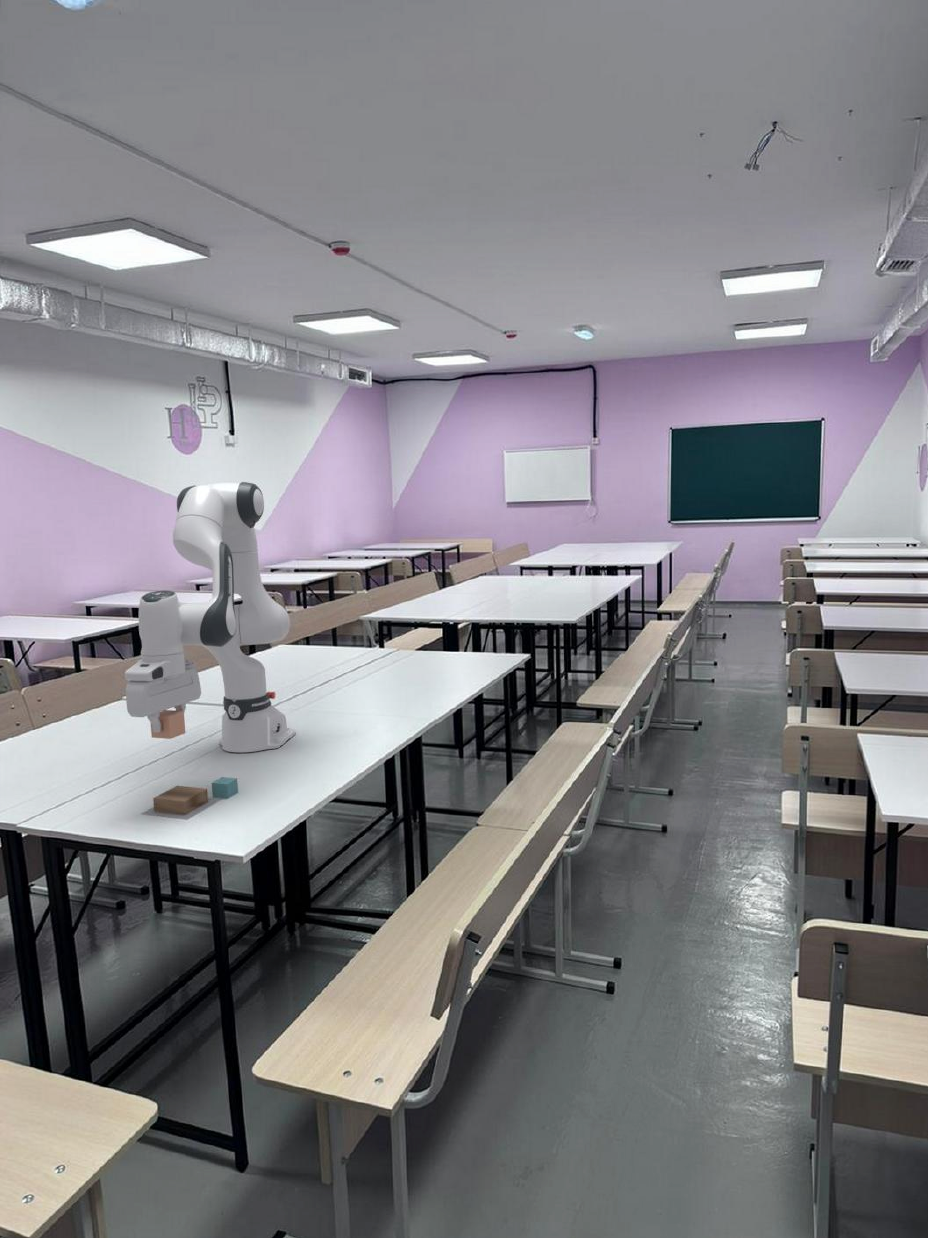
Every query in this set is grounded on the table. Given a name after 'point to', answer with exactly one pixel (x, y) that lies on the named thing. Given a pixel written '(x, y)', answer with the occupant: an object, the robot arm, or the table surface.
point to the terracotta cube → (170, 724)
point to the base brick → (180, 800)
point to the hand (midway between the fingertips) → (168, 728)
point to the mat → (179, 816)
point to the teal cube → (224, 787)
